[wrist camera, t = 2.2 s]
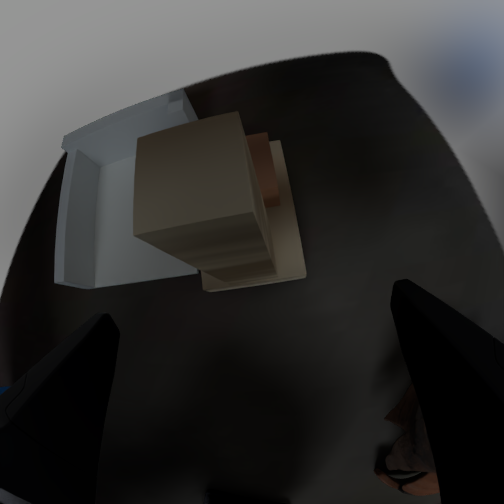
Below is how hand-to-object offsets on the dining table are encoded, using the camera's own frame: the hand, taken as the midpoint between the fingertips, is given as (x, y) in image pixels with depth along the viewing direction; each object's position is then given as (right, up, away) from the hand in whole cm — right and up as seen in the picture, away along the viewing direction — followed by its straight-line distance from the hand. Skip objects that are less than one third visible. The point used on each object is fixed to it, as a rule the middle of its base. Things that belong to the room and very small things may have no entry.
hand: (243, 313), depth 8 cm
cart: (0, +4, +12) cm, 12 cm away
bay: (-9, +6, +13) cm, 17 cm away
